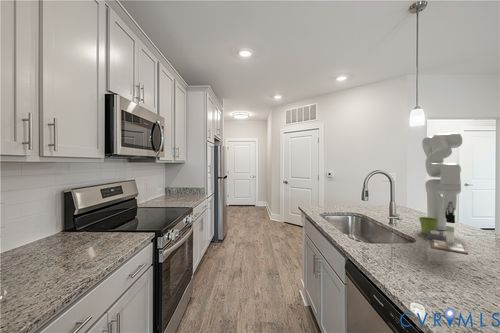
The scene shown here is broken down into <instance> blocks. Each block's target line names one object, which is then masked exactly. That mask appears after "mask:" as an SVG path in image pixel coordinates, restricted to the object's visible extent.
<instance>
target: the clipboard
mask: <svg viewBox="0 0 500 333" xmlns="http://www.w3.org/2000/svg"><path fill="white" fill-rule="evenodd" d="M431 249H435V250H440V251H441V250H442V251H446V252H451V253H459V254H464V255H468V254H469V252H468V250H467V248H466V245H465V243H462V242H456V241H454V244H448V243H446V240H444V239H443V240H437V239H431Z"/></svg>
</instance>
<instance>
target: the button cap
mask: <svg viewBox="0 0 500 333" xmlns="http://www.w3.org/2000/svg"><path fill="white" fill-rule="evenodd" d="M440 233H441V232H440V230H430V234H436V235H440Z"/></svg>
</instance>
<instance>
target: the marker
mask: <svg viewBox="0 0 500 333" xmlns="http://www.w3.org/2000/svg"><path fill="white" fill-rule="evenodd" d="M445 231H446V232H445V233H446V234H445V236H446V237H445V241H446V243H448V244H454V242H455V227H454V226H449V225H446V230H445Z"/></svg>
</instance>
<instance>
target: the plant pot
mask: <svg viewBox="0 0 500 333" xmlns="http://www.w3.org/2000/svg"><path fill="white" fill-rule="evenodd" d="M418 219H419V222H420V228H421V232H422V234H426V235H427V231H430V230H435V231H437V230H436V224H437V222H438V219H435V218H429V217H427V216H421V217H418Z"/></svg>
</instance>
